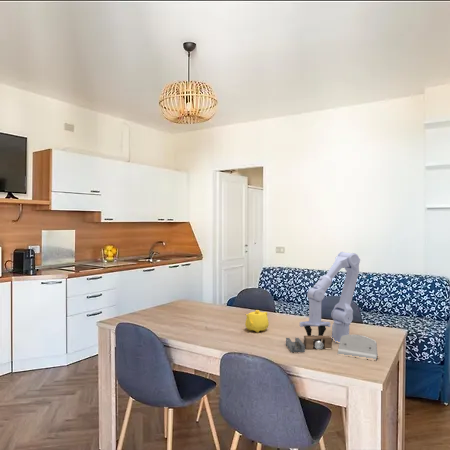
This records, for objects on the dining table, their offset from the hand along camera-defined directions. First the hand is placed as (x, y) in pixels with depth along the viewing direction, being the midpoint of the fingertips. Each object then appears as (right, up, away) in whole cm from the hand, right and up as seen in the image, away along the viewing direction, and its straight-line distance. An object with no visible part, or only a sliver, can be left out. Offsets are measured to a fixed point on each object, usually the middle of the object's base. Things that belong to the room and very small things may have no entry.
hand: (314, 341), depth 184 cm
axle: (0, -2, -3) cm, 3 cm away
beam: (0, -1, -5) cm, 5 cm away
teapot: (-26, -1, +22) cm, 35 cm away
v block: (-11, -1, -7) cm, 13 cm away
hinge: (+16, -2, -15) cm, 21 cm away
